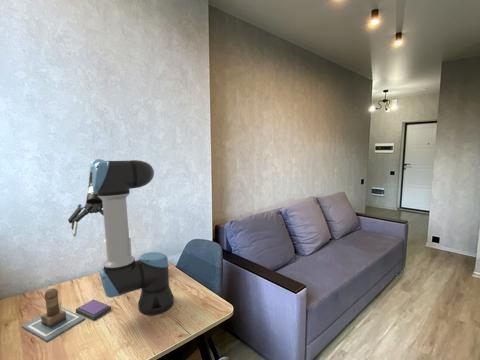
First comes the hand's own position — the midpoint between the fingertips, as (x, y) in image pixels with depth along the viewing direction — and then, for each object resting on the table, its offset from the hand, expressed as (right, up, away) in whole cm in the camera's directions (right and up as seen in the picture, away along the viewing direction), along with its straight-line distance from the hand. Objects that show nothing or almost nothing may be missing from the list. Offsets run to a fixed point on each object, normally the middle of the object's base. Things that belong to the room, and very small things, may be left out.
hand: (90, 233), depth 123 cm
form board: (-4, -32, -19) cm, 37 cm away
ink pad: (+8, -31, -11) cm, 34 cm away
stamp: (-4, -32, -18) cm, 37 cm away
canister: (+2, -27, +24) cm, 37 cm away
